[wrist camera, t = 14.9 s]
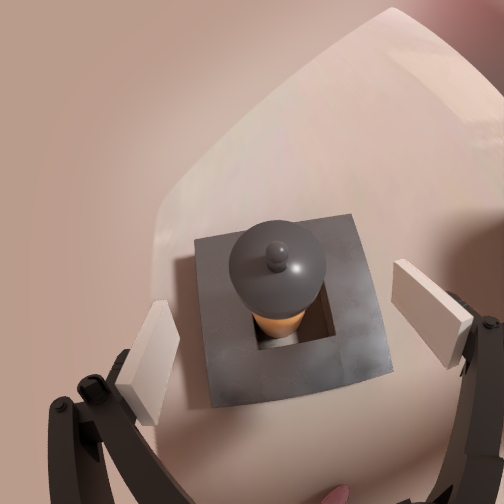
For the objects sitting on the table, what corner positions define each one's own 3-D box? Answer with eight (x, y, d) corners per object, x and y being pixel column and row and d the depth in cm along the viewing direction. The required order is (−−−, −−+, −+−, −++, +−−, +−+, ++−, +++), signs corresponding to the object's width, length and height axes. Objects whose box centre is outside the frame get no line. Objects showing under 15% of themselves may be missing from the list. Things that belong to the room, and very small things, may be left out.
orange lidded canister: (299, 285, 25) (316, 194, 13) (309, 335, 23) (344, 289, 11) (248, 294, 25) (216, 211, 13) (256, 345, 23) (229, 311, 11)
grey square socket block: (344, 229, 27) (351, 213, 24) (380, 372, 21) (393, 371, 19) (202, 253, 27) (194, 239, 24) (219, 403, 21) (212, 408, 19)
